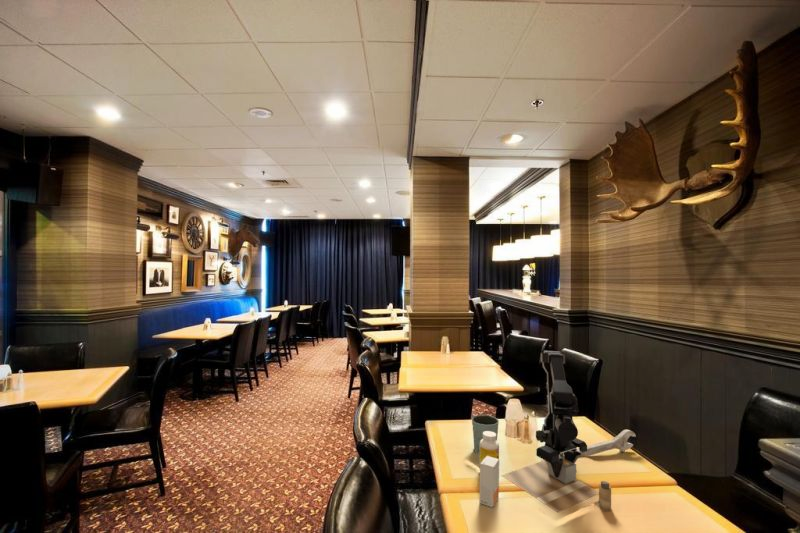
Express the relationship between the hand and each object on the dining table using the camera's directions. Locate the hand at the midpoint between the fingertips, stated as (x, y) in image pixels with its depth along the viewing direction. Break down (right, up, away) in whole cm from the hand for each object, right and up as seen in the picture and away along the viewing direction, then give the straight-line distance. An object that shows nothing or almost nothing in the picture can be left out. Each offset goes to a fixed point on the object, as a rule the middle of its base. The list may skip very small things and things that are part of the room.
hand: (561, 474), depth 125 cm
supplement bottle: (-23, -2, +6) cm, 24 cm away
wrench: (+24, -3, +19) cm, 30 cm away
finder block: (0, -1, 0) cm, 1 cm away
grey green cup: (-21, -2, +21) cm, 30 cm away
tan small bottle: (+7, -2, -14) cm, 16 cm away
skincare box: (-27, -2, -11) cm, 29 cm away
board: (-6, -2, -4) cm, 7 cm away
